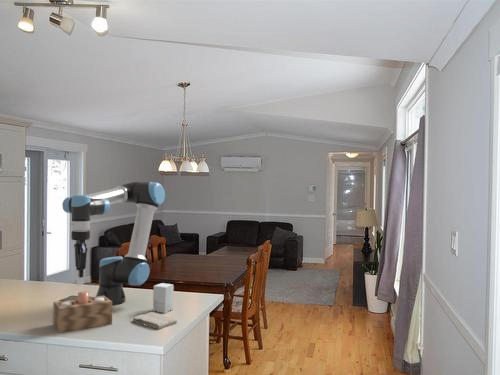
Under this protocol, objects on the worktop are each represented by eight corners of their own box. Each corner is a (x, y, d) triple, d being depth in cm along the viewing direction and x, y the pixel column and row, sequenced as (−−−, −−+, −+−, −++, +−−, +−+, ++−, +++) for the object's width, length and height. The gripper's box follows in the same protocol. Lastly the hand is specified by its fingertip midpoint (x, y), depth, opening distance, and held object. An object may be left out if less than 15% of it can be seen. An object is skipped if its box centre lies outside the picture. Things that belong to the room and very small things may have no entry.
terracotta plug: (86, 311, 203) (87, 291, 203) (89, 313, 199) (89, 293, 199) (76, 312, 200) (76, 292, 200) (79, 315, 197) (79, 294, 197)
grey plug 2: (102, 316, 207) (102, 297, 207) (105, 319, 203) (105, 299, 203) (92, 318, 204) (92, 298, 204) (95, 320, 201) (95, 300, 201)
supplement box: (173, 309, 226) (174, 284, 226) (164, 313, 219) (165, 287, 219) (161, 307, 229) (162, 282, 229) (152, 311, 222) (152, 285, 222)
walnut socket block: (103, 316, 211) (104, 295, 211) (112, 324, 201) (112, 301, 201) (53, 324, 198) (53, 301, 198) (59, 332, 189) (59, 308, 188)
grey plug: (70, 321, 199) (70, 301, 199) (72, 324, 195) (73, 303, 195) (59, 323, 196) (59, 302, 196) (61, 326, 193) (62, 305, 193)
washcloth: (150, 316, 215) (150, 309, 215) (178, 324, 205) (178, 317, 205) (130, 322, 206) (130, 315, 206) (158, 331, 196) (159, 323, 195)
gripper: (68, 229, 202) (67, 281, 202) (75, 232, 191) (74, 288, 192) (85, 228, 206) (85, 280, 207) (93, 231, 195) (93, 286, 196)
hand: (80, 284), depth 199 cm, fingers closed
